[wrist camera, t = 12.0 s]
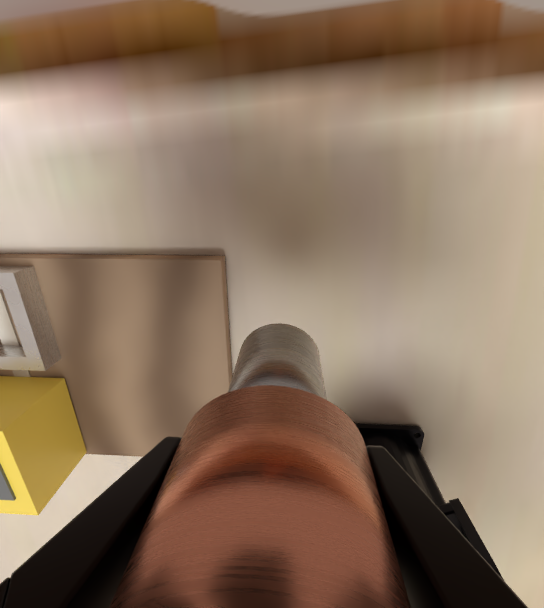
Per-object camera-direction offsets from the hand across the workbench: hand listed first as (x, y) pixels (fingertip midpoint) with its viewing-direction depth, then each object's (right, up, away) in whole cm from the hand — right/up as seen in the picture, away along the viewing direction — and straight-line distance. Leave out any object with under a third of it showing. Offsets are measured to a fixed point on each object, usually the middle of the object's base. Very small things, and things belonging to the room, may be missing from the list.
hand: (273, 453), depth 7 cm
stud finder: (-18, -5, +16) cm, 24 cm away
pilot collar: (-18, +3, +13) cm, 22 cm away
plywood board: (-13, -1, +15) cm, 20 cm away
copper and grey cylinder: (0, +2, +4) cm, 4 cm away
